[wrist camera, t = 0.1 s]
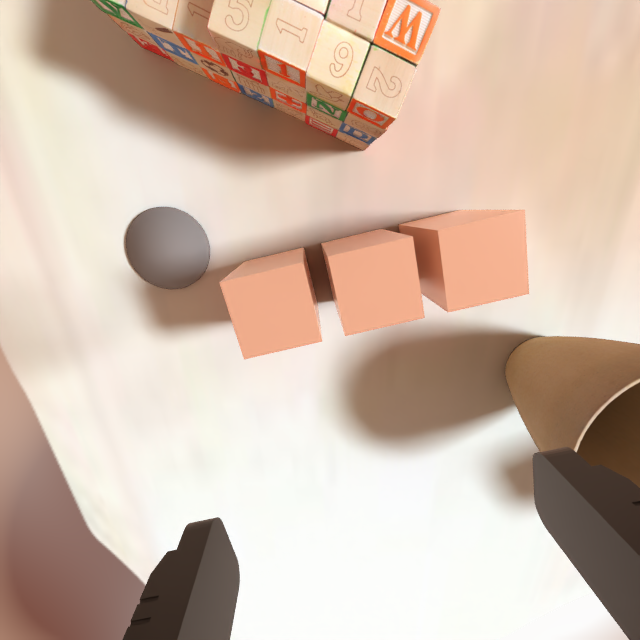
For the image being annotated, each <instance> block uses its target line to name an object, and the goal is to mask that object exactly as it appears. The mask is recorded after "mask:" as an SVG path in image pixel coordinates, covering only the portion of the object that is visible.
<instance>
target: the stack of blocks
mask: <svg viewBox="0 0 640 640" xmlns="http://www.w3.org/2000/svg"><path fill="white" fill-rule="evenodd" d="M91 1H92V2H93V3H94V4H95V5H96V6H97V7H98V8H99V9H100V10H102V11H103V12H105V13H107V14H108V15H109V16H110V17H111V18H112V19H113V20H114V21H115V22H116V23H117V24H118V25H119V26H120V27H121V28H122V29H123V30H124V31H126V32H127V33H128V34H129V35H130V36H131V37H132V39H133V40H135V41H136V42H137V43H138V44H139V45H140V46H141V47H143V48H145V49H147V50H149V51H152V52H154V53H156V54H158V55H161V56H163V57H165V58H167V59H170V60H172V61H175V62H176V64H178V65H180V66H182V67H184V68H187V69H189V70H191V71H193V72H195V73H197V74H200V75H202V76H204V77H206V78H209V79H211V80H213V81H215V82H217V83H219V84H221V85H223V86H225V87H227V88H230V89H232V90H234V91H236V92H238V93H243V94H245V95H247V96H249V97H251V98H254V99H256V100H258V101H260V102H262V103H264V104H266V105H269V106H271V107H274V108H276V109H278V110H280V111H282V112H284V113H286V114H289V115H291V116H293V117H295V118H297V119H300V120H302V121H304V122H305V123H306V124H308V125H310V126H313V127H315V128H317V129H319V130H321V131H323V132H325V133H328V134H330V135H332V136H334V137H336V138H338V139H340V140H342V141H344V142H346V143H348V144H350V145H352V146H355V147H357V148H359V149H361V150H365V149H366V148H367V147H369V145H370V144H371V143H372V142H373V141H374V140H376V139H377V138H379V137H380V136H381V135H382V134H383V133H385V131H386V130H387V129H388V126H389V125H390V124H391V123H392V122H393V121H394V120H395V119H396V118H397V116H398V113H399V111H400V108H401V106H402V104H403V101H404V99H405V96H406V94H407V92H408V89H409V87H410V85H411V82H412V80H413V77H414V75H415V73H416V70H417V68H416V66H417V65H418V64H419V62H420V60H421V57H422V55H423V53H424V50H425V48H426V45H427V43H428V41H429V38H430V36H431V33H432V31H433V28H434V26H435V23H436V21H437V18H438V16H439V13H440V10H441V9H440V7H438V6H436V5H434V4H433V3H431V2H429V1H427V0H91Z"/></svg>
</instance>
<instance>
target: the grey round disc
mask: <svg viewBox="0 0 640 640" xmlns="http://www.w3.org/2000/svg"><path fill="white" fill-rule="evenodd" d="M126 248H127V253H128V257H129V259H130V262H131V264H132V265H133V267H134V269H135V270H136V271H137V272H138V273H139V274H140V275H141V276H142V277H143V278H144V279H145V280H146V281H148V282H150V283H151V284H153V285H156V286H158V287H161V288H166V289H179V288H183V287H187V286H189V285H191V284H192V283H194V282H195V281H197V280H198V279H199V278H200V277H201V276H202V275H203V273H204V272H205V270H206V268H207V266H208V263H209V258H210V246H209V242H208V238H207V236H206V234H205V232H204V230H203V228H202V227H201V226H200V224H199V223H198V222H197V221H196V220H195V219H194V218H193V217H191V216H190V215H189V214H187V213H185V212H183V211H181V210H178V209H175V208H171V207H156V208H152V209H149V210H146V211H144V212H143V213H141V214H140V215H138V216H137V217H136V218H135V220H134V221H133V222H132V224H131V226H130V227H129V230H128V233H127V238H126Z"/></svg>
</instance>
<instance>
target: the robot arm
mask: <svg viewBox="0 0 640 640" xmlns="http://www.w3.org/2000/svg"><path fill="white" fill-rule="evenodd" d="M533 476H534V499H535V505H536V509H537V511H538V514H539V516H540V518H541V520H542V522H543V524H544V526H545V527H546V529H547V530H548V532H549V533H550V534H551V536H552V537H553V538H554V540H555V541H556V542H557V544H558V545H559V546H560V548H561V549H562V550H563V552H564V553H565V554H566V556H567V557H568V558H569V560H570V561H571V562H572V564H573V565H574V566H575V568H576V569H577V570H578V572H579V573H580V574H581V576H582V577H583V578H584V580H585V581H586V582H587V584H588V585H589V586H590V588H591V589H592V590H593V592H594V593H595V594H596V596H597V597H598V598H599V600H600V601H601V602H602V604H603V605H604V606H605V608H606V609H607V610H608V612H609V613H610V614H611V616H612V617H613V618H614V620H615V621H616V622H617V624H618V625H619V626H620V628H621V629H622V630H623V632H624V633H625V634H626V636H627V637H628V638H629V640H640V488H639V487H638V486H637V485H636V484H634V483H633V482H632V481H631V480H630V479H628V478H626V477H624V476H622V475H620V474H618V473H616V472H614V471H613V470H611V469H609V468H607V467H605V466H603V465H596V466H591V465H590V464H589V463H587V462H586V461H585V460H584V459H583V458H582V457H581V456H580V455H579V454H578V453H576V452H575V451H574V450H573V449H571V448H569V447H562V448H557V449H553V450H548V451H543V452H538V453H535V454H534V456H533ZM239 582H240V574H239V565H238V560H237V557H236V555H235V552H234V550H233V547H232V545H231V542H230V540H229V537H228V535H227V532H226V530H225V527H224V525H223V522H222V520H221V519H220V518H213V519H208V520H203V521H198V522H193V523H189V524H188V525H187V526H186V528H185V530H184V532H183V535H182V537H181V540H180V542H179V545H178V548H177V550H173V551H168V552H167V553H166V555H165V556H164V557H163V558H162V560H161V561H160V562H159V564H158V565H157V566H156V568H155V569H154V570H153V572H152V573H151V575H150V577H149V579H148V582H147V584H146V586H145V589H144V591H143V593H142V596H141V598H140V604H138V605H137V607H136V610H135V612H134V614H133V617H132V619H131V625H130V627H128V628H127V631H126V633H125V635H124V638H123V640H230V636H231V630H232V625H233V619H234V613H235V608H236V602H237V597H238V591H239Z"/></svg>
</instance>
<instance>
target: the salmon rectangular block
mask: <svg viewBox="0 0 640 640" xmlns="http://www.w3.org/2000/svg"><path fill="white" fill-rule="evenodd" d="M321 245H322V250H323V254H324V259H325V263H326V267H327V272H328V276H329V281H330V285H331V290H332V294H333V299H334V302H335V306H336V309H337V312H338V315H339V318H340V321H341V325H342V328H343V331H344V334H345V336H348V335H352V334H356V333H361V332H365V331H369V330H374V329H378V328H382V327H387V326H391V325H395V324H400V323H404V322H409V321H413V320H417V319H422V318H425V316H424V310H423V303H422V296H421V289H420V282H419V275H418V268H417V262H416V255H415V248H414V241H413V236H409V235H405V234H401V233H397V232H392V231H388V230H384V229H378V230H374V231H370V232H365V233H361V234H357V235H353V236H349V237H344V238H340V239H336V240H332V241H328V242H324V243H321Z"/></svg>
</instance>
